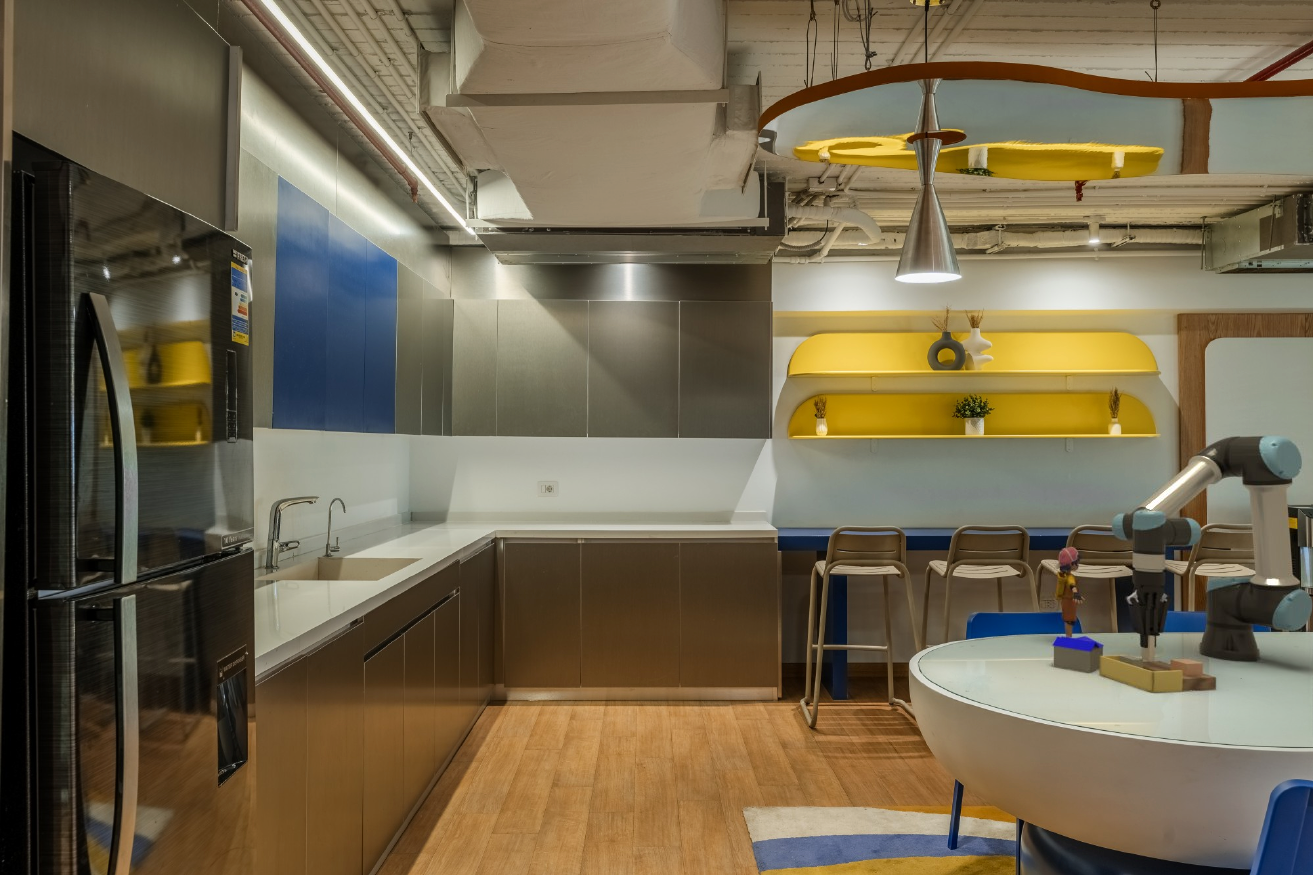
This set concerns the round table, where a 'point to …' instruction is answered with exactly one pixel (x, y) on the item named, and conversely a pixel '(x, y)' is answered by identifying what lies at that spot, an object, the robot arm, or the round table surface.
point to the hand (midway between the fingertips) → (1148, 659)
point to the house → (1077, 653)
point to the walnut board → (1184, 677)
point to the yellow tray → (1140, 675)
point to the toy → (1068, 587)
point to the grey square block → (1131, 660)
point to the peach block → (1187, 666)
